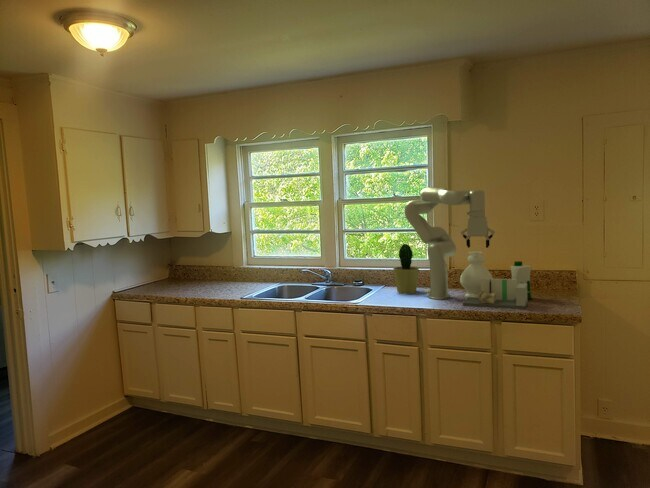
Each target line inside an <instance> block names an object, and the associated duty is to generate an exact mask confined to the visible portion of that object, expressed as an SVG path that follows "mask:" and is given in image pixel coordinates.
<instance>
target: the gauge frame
mask: <svg viewBox="0 0 650 488" xmlns="http://www.w3.org/2000/svg"><path fill="white" fill-rule="evenodd" d="M490 282H491V293H496V301H495V302H494V303H479V298H470V297H467V298H466V299H465V300H464V301H463V303H462V304H463V305H462V306H465V307H466V306H467V307H481V308H482V307H483V308H497V309H498V308H501V309H515V308H518V309H519V310H526V308H527V306H526V305H528V300H527V283H519V284H518V285H517V279H512V278H493V279H488V278H481V291H484V293H489V292H490Z"/></svg>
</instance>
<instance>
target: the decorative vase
mask: <svg viewBox="0 0 650 488" xmlns="http://www.w3.org/2000/svg"><path fill="white" fill-rule="evenodd" d="M468 254H469V255H468V256H467V258H466V260H467V262H468V263H469V265H468V266H467V267H465V269H464V270H463V271H462V272H461V275H460V278H459V283H460V284H461V286H462V287H463V288H464V289H465V291H466V292H467V293H465V295H464V296H465V297H466V298H479V293H480V292H481V278H488V279H494V278H493V274H492V273H491V272H490V271H489V269H488V268H487V267H486V266H485V265H483V263H484V262H485V260H486V258H485V257H484V256H483V251H480V250H479V251H478V250H477V251H476V250H475V251H473V250H472V251H468Z"/></svg>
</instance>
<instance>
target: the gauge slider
mask: <svg viewBox="0 0 650 488" xmlns="http://www.w3.org/2000/svg"><path fill="white" fill-rule="evenodd" d="M495 301H496V293H491V282H490V292H489V293H484V291H481V292H480V293H479V303H494V302H495Z"/></svg>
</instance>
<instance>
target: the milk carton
mask: <svg viewBox="0 0 650 488" xmlns="http://www.w3.org/2000/svg"><path fill="white" fill-rule="evenodd" d="M532 267H533V266H532V265H531V266H530V265H526V264H523V261H519V260H517V261H514V264H513V265H510V267H509V268H510V272H511V279H517V285H518V284H519V283H527V301H528V299H529V300H532V295H531V293H532V292H531V270H532Z"/></svg>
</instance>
